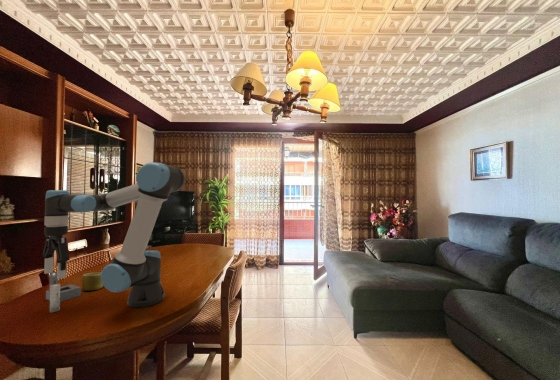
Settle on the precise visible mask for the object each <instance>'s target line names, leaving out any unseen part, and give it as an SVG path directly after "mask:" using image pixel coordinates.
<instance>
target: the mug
mask: <svg viewBox="0 0 560 380" xmlns="http://www.w3.org/2000/svg"><path fill="white" fill-rule="evenodd" d="M101 272H102V271H101ZM101 272H88V273H83V275H82V279H81V282H82V287H81V288H82V289H81V290H82V291H84V292H88V291H89V292H90V291H98V290H100V289H102V288H103V287H104V285H103V283H102V281H101Z"/></svg>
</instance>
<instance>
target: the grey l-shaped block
mask: <svg viewBox="0 0 560 380" xmlns="http://www.w3.org/2000/svg"><path fill="white" fill-rule="evenodd" d="M58 282H59V279H57V271H53V272H51V273H49V286H50V285H53V284H59V283H58ZM81 288H82V287H80V286H78V285H75V284H72V283H70V284H66V285H63V286H60V303H61V302H63V301H68V300H70V299H74V298H78V297H81V295H82V291H81V290H82V289H81ZM45 300H47V301H48V302H50V288H49V289H48V290H45Z"/></svg>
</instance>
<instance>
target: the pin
mask: <svg viewBox="0 0 560 380" xmlns="http://www.w3.org/2000/svg"><path fill="white" fill-rule="evenodd" d="M60 287H61V283H58V284H53V285H50V284H49V289H50V301H49V313H57V312H60V310H61V302H60Z"/></svg>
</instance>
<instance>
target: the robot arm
mask: <svg viewBox="0 0 560 380" xmlns="http://www.w3.org/2000/svg"><path fill="white" fill-rule="evenodd" d="M135 182H136V183H135V184H131V185H129V186H125V187H122V188H119V189H115V190H112V191H110V192H106V193H104V194H70V191H69V190H66V189H64V190H60V189H55V190H53V189H52V190H51V189H50V190H47V191H46V192H45V199H44V201H45V203H44V220H43V221H44V224H43V225H44V226H45V227H44V233H43V234H44V236H45V244H44V248H43V252H42V257H43V258H44V267H43V268H44V270H43V274H45V275H46V274H50V273H54V257H55V254H56V256H57V262H56V264H57V271H56V272H57V279H58V280H59V279H63V278H67V266H68V265H67V262H68V261H70V253H69V249H68V244H67V243H68V242H67V241H68V240H67V239H68V238H67V237H63V236H64V235H67V234H68V233H69V225H68V224H69V220H70V217H69V213H90V212H107V211H113V210H115V209H116V208H117V207H120V206H124V205H126V204H131V203H133V202H136V201H137V205H136V208H135V210H134V213H133V215H132V218H131V221H130V224H129V227H128V230H127V232H126V235H125V238H124V240H123V243H122V246H121V248H120V250H119V251H117V252H115V253H114V256H113V258H112V261H111V263H108V264H107V265H106V266H104V267H103V269H102V271H101V281H102V283H103V287H104V288H105V289H106V290H108V291H109V292H112V293H120V292H123V291H124V292H125V291H127V290H129V289H130V288H131V289H130V290H129V293H128V297H127V306H128V307H130V308H145V307H149V306H154V305H156V304H158V303H160V302H162V301H163V300H164V299H165V290H164V287H163V285H162V282H161V273H162V271H161V266H162V265H161V263H162V262H161V260H162V258H161V252H160V251H159V250H150V249H149V250H146V249H147V247H148V244H149V241H150V238H151V236H152V233H153V230H154V227H155V224H156V221H157V219H158V216H159V214H160V211H161V208H162V204H163V203H164V202H166V201H168V199H169V198H170V195H171V193H176V192H178V191H180V190H181V189H183V187H184V186H185V183H186V176H185V173H184V171H183V170H182V169H181V168H179V167H177V166H173V165H170V164H169V165H168V164H166V163H163V162H162V163H161V162H155V161H154V162H153V161H152V162H148V163H147V162H146V163H145V164H144V165H141V167H140V168H139V169H138V170H137V172H136V176H135ZM54 253H55V254H54Z"/></svg>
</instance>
